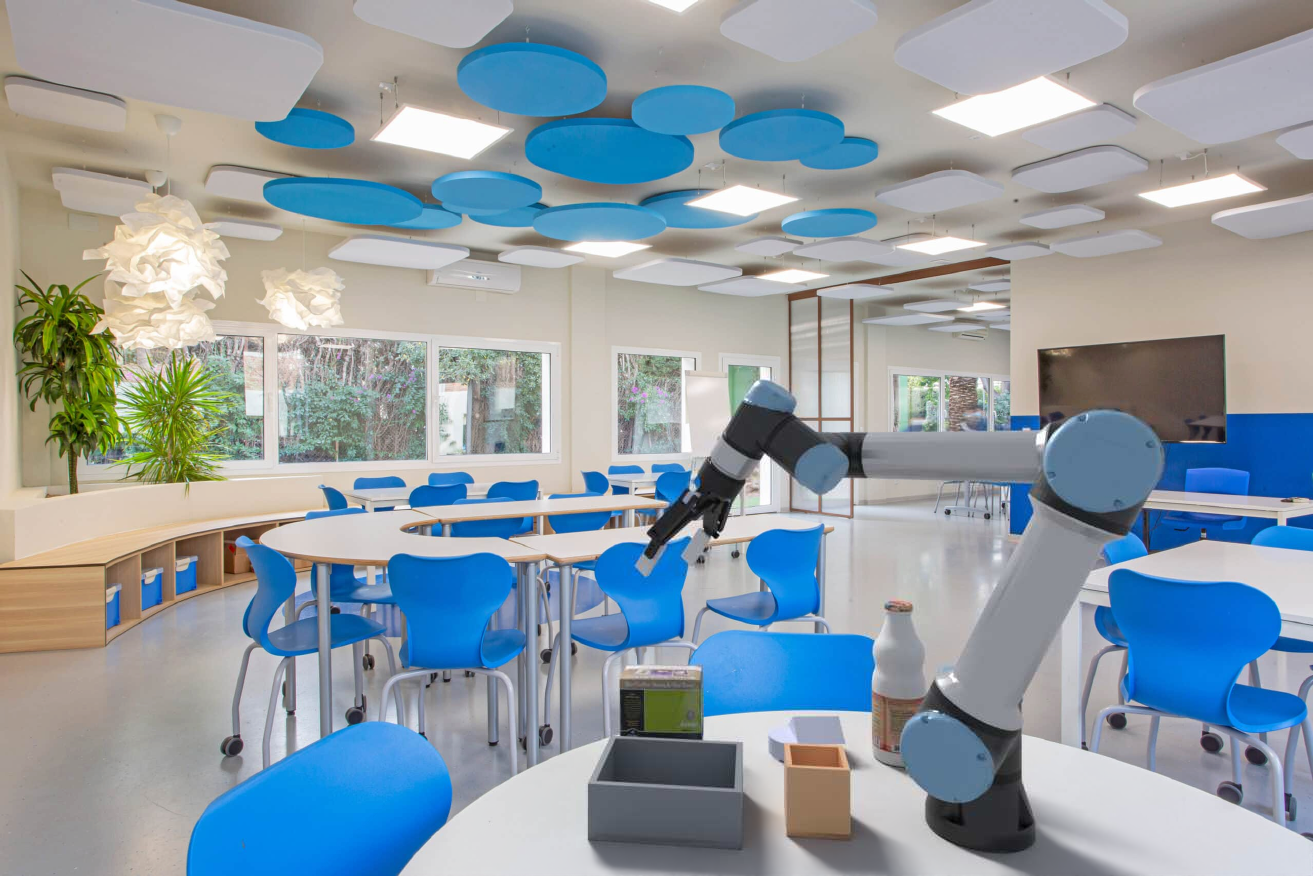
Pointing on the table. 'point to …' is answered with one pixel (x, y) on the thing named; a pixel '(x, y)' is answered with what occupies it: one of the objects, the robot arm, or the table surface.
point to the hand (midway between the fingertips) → (664, 566)
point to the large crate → (668, 792)
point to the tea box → (662, 701)
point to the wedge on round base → (805, 733)
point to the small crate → (816, 791)
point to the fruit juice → (895, 681)
